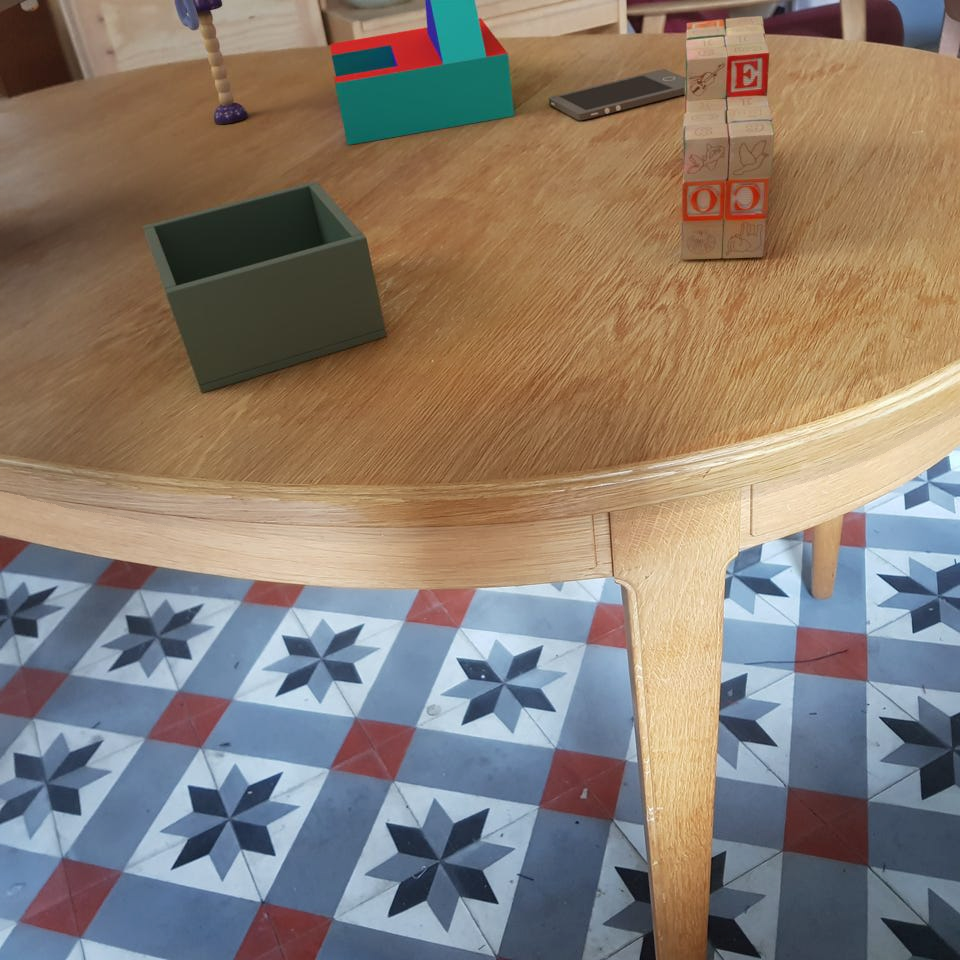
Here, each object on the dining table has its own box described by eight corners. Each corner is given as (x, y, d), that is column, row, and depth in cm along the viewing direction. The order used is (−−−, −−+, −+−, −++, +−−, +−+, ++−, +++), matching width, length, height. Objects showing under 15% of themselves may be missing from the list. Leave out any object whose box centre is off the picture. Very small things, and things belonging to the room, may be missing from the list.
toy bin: (174, 316, 75) (142, 225, 71) (336, 269, 79) (316, 180, 74) (201, 393, 65) (165, 293, 60) (387, 336, 68) (366, 237, 64)
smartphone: (579, 121, 101) (578, 114, 100) (547, 104, 107) (546, 97, 107) (701, 90, 104) (701, 83, 104) (663, 74, 110) (663, 68, 110)
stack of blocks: (766, 260, 70) (777, 88, 63) (680, 262, 72) (681, 95, 64) (755, 158, 87) (763, 12, 79) (685, 162, 88) (686, 19, 81)
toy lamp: (215, 116, 121) (174, -29, 111) (251, 109, 121) (213, -36, 111) (214, 126, 117) (171, -23, 107) (251, 120, 118) (211, -29, 108)
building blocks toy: (480, 63, 126) (461, -96, 115) (514, 115, 106) (495, -71, 95) (339, 87, 125) (307, -71, 114) (347, 145, 105) (309, -40, 94)
